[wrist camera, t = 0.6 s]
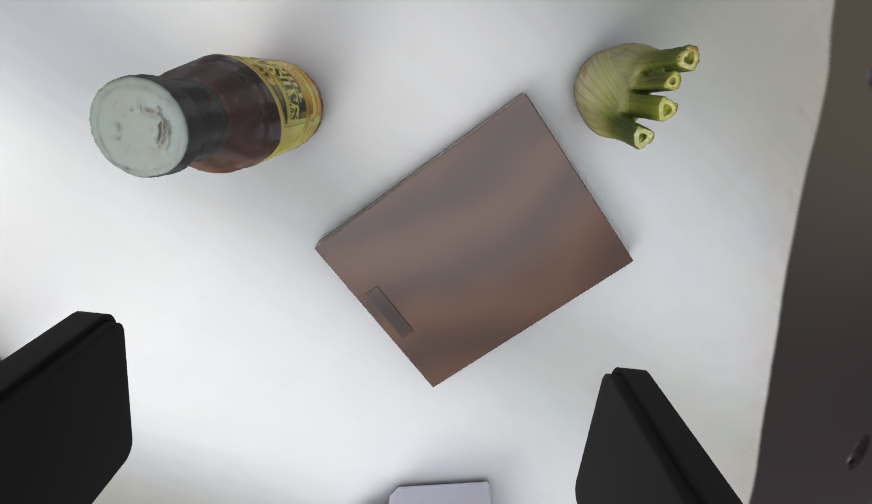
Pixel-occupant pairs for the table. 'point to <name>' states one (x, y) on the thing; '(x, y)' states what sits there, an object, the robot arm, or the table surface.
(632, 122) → the fennel bulb
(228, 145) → the sauce bottle
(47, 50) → the table surface
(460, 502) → the charger
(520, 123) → the cutting board
